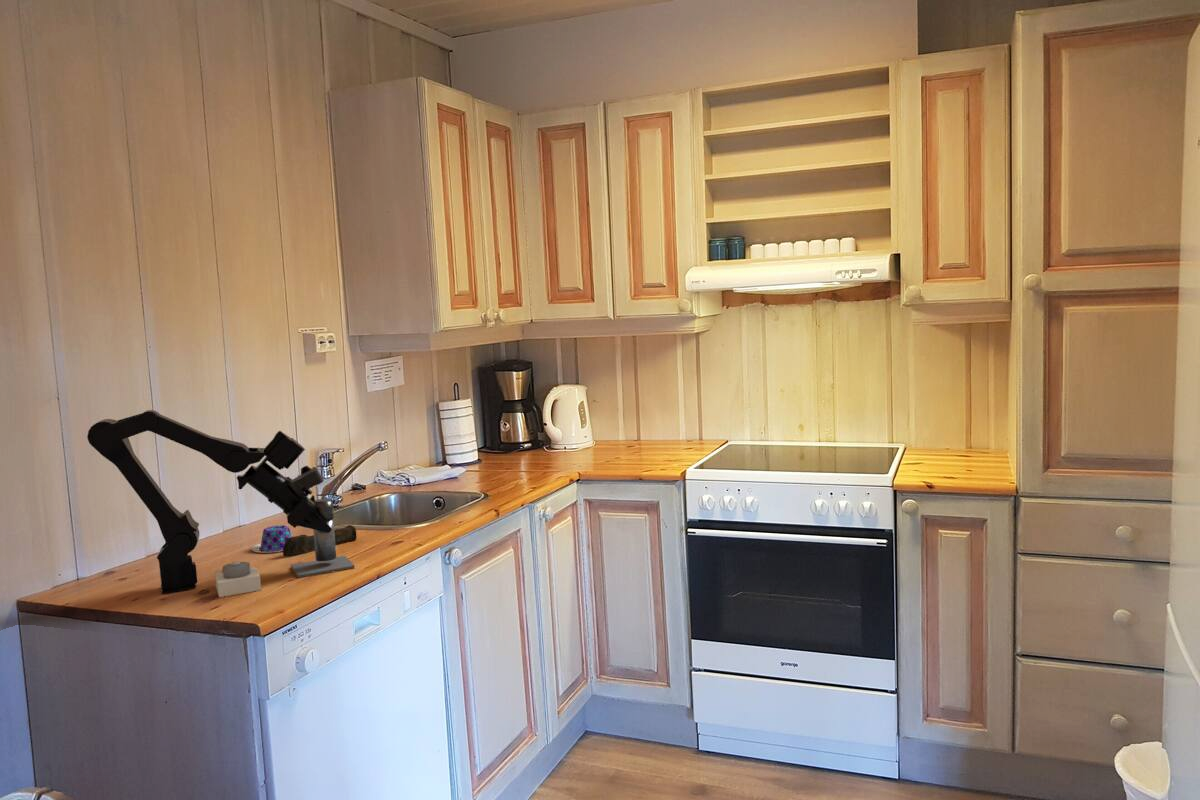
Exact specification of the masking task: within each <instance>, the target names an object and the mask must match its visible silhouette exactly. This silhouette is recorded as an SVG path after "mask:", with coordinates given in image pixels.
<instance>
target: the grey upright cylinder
mask: <svg viewBox="0 0 1200 800" xmlns="http://www.w3.org/2000/svg"><path fill="white" fill-rule="evenodd" d="M313 502H315V503H316V512H317V513H318V514H319V515H320V516H321V517H322V518H323V519H324V520H325V522H326V523H327V524H328V525H329V526H330V527H331V528H332V530H331V531H330V532H329V533H327V532H323V531H319V530H315V529H312V531H313V535H314V544H315V549H314V555H315V561H329V560H333V559H335V558H336V557H337V549H336V548H337V547H336V544H335V534H334V530H335V524H334V519H335V512H334V511H335V510H334V500H333V499H332V498H320V499H315V500H314V501H313Z"/></svg>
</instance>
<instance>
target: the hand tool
mask: <svg viewBox="0 0 1200 800" xmlns="http://www.w3.org/2000/svg"><path fill="white" fill-rule="evenodd" d="M334 534H335V545H336V544H339V543H346V542H348V541H353V542H354V541H357V529H356V527H355V526H353V525H351V524H349V525H347V526H344V527H342V528H336V529H334ZM312 550H315V544H314V534H313V535H307V534H300V535H296V536H292V537H291V538H288V539H287V540H286V541H285V544H284V548H283V551H282V554H283V558H289V557H290V558H291V557H294V556H300V554H301V555H305V554H308V553H309V552H310V551H312Z"/></svg>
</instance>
